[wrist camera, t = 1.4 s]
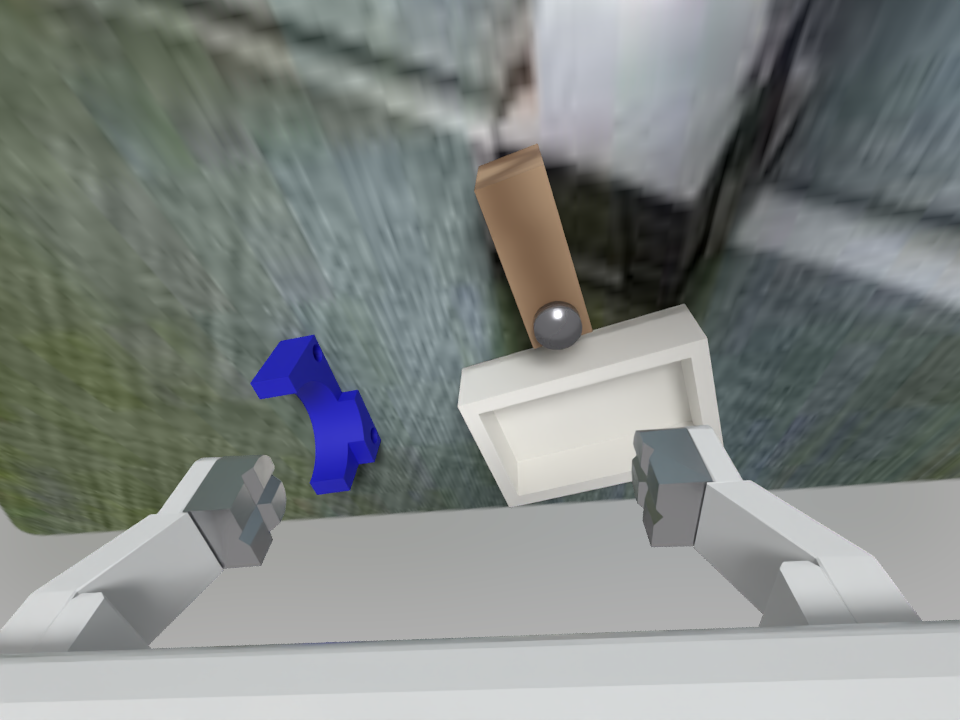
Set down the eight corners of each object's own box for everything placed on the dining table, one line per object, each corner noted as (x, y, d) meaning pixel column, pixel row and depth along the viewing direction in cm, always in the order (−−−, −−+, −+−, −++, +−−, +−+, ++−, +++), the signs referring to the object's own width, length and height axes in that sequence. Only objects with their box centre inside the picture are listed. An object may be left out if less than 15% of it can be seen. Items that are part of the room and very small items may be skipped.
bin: (684, 303, 37) (707, 338, 33) (704, 419, 43) (725, 460, 39) (462, 368, 41) (457, 406, 37) (509, 465, 47) (509, 507, 43)
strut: (537, 143, 31) (545, 169, 26) (581, 291, 37) (595, 339, 31) (478, 166, 32) (473, 196, 27) (529, 307, 38) (534, 357, 32)
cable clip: (381, 438, 46) (366, 488, 41) (336, 445, 47) (317, 494, 42) (332, 330, 40) (307, 373, 35) (281, 339, 41) (250, 383, 36)
